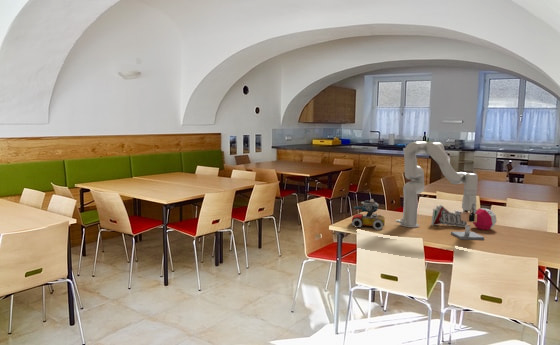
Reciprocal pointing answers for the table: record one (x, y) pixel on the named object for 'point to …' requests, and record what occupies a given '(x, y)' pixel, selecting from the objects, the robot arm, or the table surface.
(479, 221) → the decorative object
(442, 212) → the decorative sign
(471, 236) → the post stand
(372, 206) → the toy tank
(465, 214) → the collar
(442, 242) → the table surface
